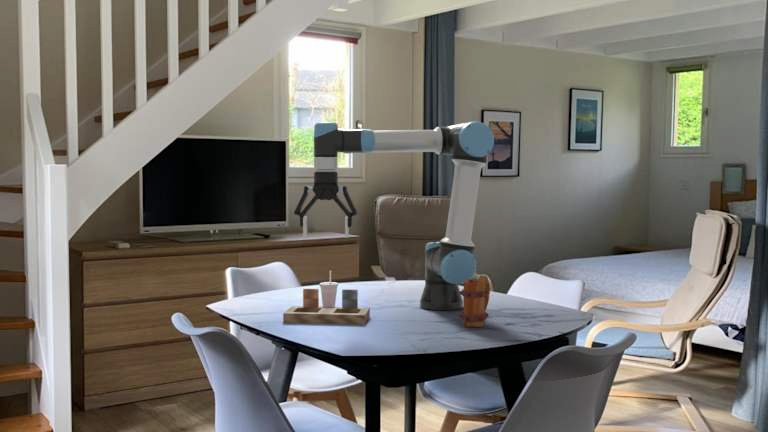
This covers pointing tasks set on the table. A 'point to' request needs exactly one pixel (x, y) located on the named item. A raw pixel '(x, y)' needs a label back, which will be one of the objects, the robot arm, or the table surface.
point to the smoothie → (328, 293)
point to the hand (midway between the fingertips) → (326, 237)
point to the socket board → (327, 310)
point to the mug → (475, 301)
